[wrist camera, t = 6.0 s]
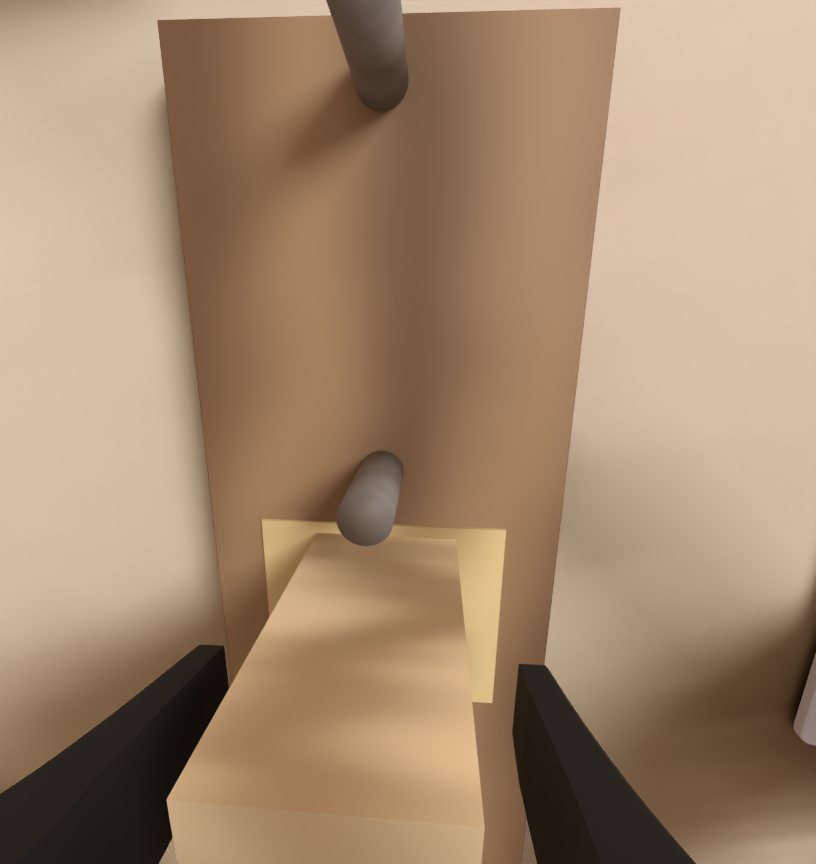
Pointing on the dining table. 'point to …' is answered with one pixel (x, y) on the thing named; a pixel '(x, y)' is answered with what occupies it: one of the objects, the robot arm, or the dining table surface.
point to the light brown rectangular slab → (344, 722)
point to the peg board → (393, 304)
